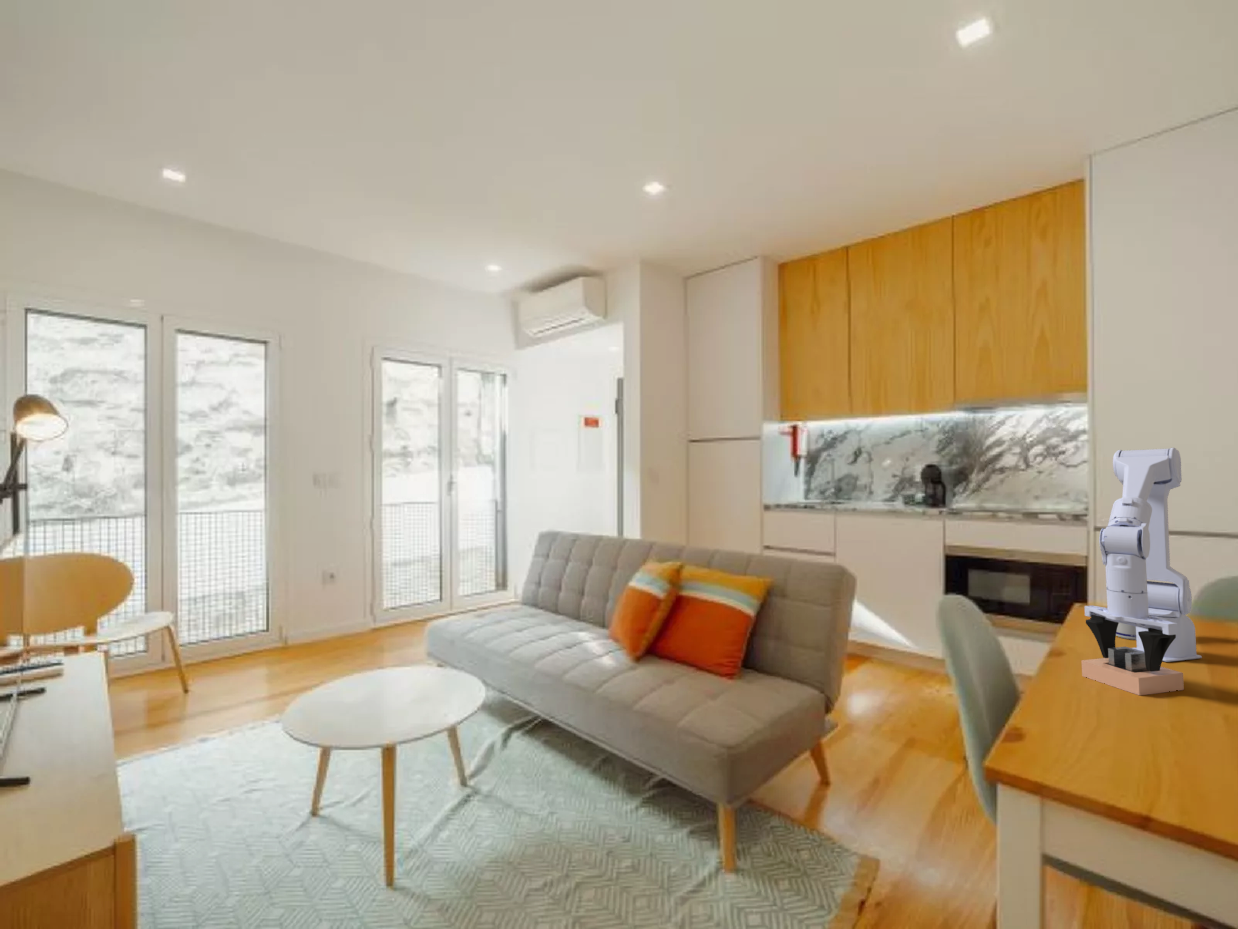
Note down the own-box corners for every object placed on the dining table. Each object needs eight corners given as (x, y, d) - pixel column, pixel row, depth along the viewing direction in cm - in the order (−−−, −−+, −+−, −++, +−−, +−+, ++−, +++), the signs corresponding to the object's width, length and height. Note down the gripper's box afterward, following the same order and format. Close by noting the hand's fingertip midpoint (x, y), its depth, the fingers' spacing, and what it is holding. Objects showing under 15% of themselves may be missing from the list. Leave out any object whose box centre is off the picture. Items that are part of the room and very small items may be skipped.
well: (1123, 671, 110) (1123, 655, 110) (1183, 689, 101) (1183, 672, 101) (1082, 676, 108) (1081, 660, 108) (1139, 695, 99) (1138, 678, 99)
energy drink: (1138, 641, 129) (1135, 589, 129) (1109, 636, 134) (1106, 585, 134) (1148, 638, 131) (1146, 586, 132) (1120, 632, 136) (1117, 583, 136)
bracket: (1126, 678, 107) (1125, 646, 107) (1150, 685, 103) (1148, 652, 103) (1109, 680, 106) (1108, 648, 106) (1132, 687, 102) (1130, 654, 102)
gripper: (1070, 584, 111) (1074, 653, 111) (1153, 599, 97) (1157, 679, 97) (1099, 582, 113) (1102, 650, 112) (1185, 597, 98) (1189, 675, 98)
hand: (1130, 663), depth 105 cm, fingers open, 7 cm apart
